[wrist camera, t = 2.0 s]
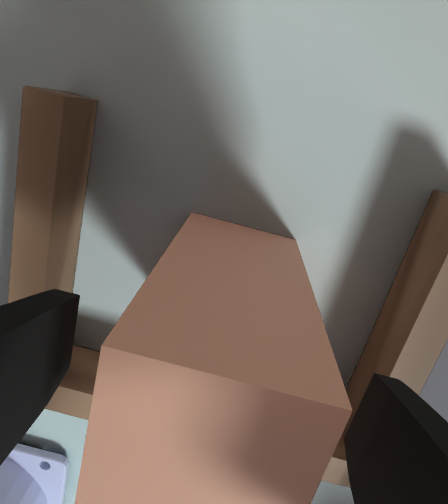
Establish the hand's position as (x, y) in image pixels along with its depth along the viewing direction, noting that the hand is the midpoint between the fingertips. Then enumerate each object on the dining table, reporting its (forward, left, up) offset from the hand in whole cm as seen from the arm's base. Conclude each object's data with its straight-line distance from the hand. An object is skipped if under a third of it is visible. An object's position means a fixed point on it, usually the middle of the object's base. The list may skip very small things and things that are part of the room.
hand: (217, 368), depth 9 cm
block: (0, 0, -6) cm, 6 cm away
